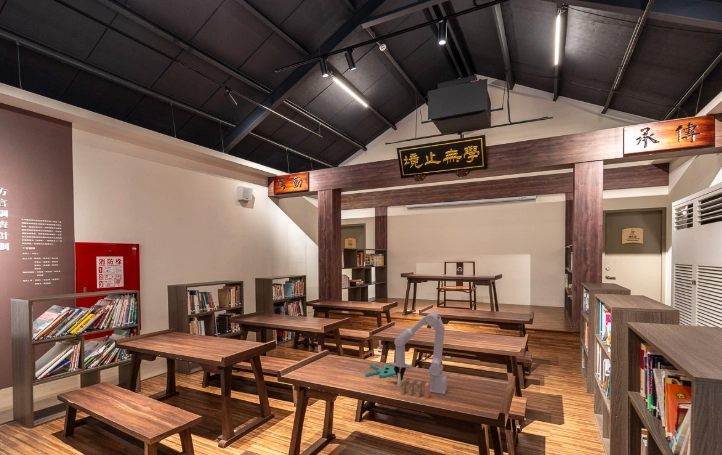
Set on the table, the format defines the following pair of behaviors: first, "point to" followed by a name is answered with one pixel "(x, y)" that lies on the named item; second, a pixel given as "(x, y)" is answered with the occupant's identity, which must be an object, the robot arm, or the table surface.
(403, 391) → the domino
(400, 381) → the white domino
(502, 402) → the table surface
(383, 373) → the alien figure
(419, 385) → the domino
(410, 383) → the domino
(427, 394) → the domino
